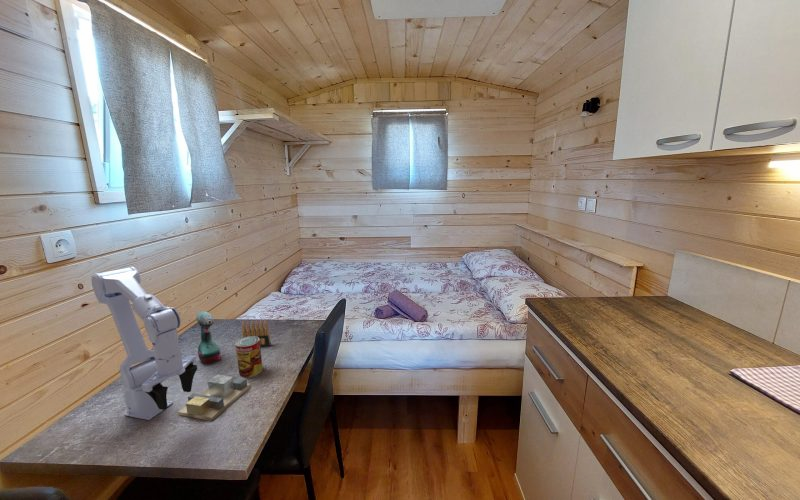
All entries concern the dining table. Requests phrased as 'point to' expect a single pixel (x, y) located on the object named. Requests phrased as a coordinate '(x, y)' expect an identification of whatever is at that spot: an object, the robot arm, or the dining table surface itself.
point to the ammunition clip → (257, 332)
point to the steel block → (221, 386)
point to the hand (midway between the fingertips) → (175, 399)
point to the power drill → (207, 339)
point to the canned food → (249, 356)
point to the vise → (212, 413)
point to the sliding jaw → (202, 403)
